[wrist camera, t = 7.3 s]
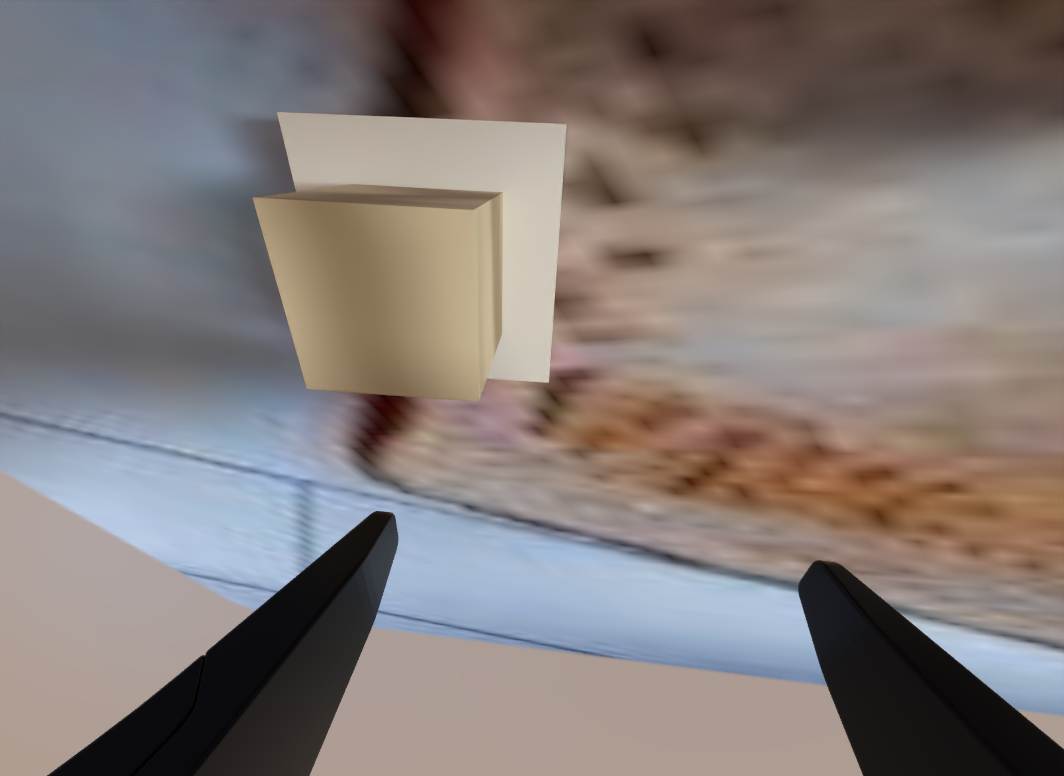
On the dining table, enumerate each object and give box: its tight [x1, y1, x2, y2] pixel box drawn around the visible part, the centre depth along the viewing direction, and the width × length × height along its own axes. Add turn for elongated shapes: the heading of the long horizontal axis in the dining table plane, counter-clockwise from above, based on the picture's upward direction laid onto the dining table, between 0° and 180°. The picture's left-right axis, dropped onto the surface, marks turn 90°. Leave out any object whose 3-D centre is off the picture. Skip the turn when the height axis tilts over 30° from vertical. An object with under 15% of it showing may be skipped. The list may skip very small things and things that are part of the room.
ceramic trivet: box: [277, 112, 567, 383], centre depth 16 cm, size 9×9×3 cm
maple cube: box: [253, 184, 503, 402], centre depth 12 cm, size 5×5×5 cm
